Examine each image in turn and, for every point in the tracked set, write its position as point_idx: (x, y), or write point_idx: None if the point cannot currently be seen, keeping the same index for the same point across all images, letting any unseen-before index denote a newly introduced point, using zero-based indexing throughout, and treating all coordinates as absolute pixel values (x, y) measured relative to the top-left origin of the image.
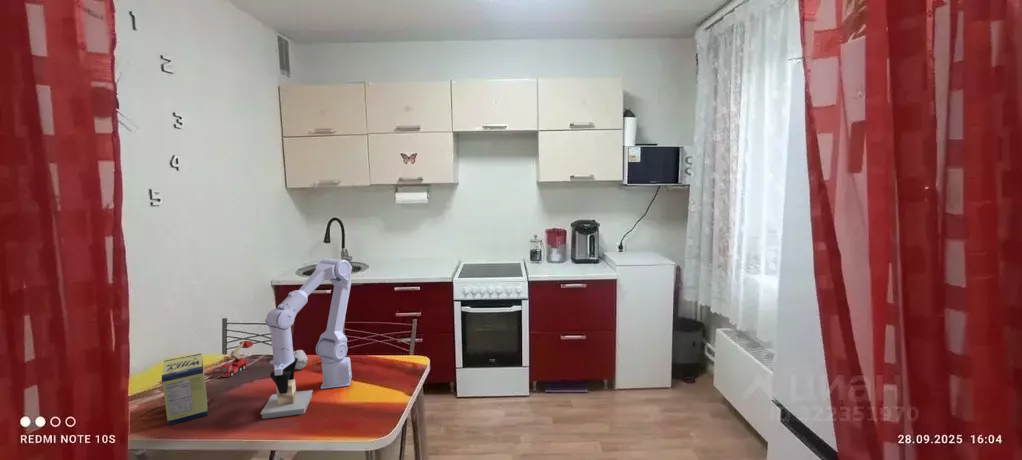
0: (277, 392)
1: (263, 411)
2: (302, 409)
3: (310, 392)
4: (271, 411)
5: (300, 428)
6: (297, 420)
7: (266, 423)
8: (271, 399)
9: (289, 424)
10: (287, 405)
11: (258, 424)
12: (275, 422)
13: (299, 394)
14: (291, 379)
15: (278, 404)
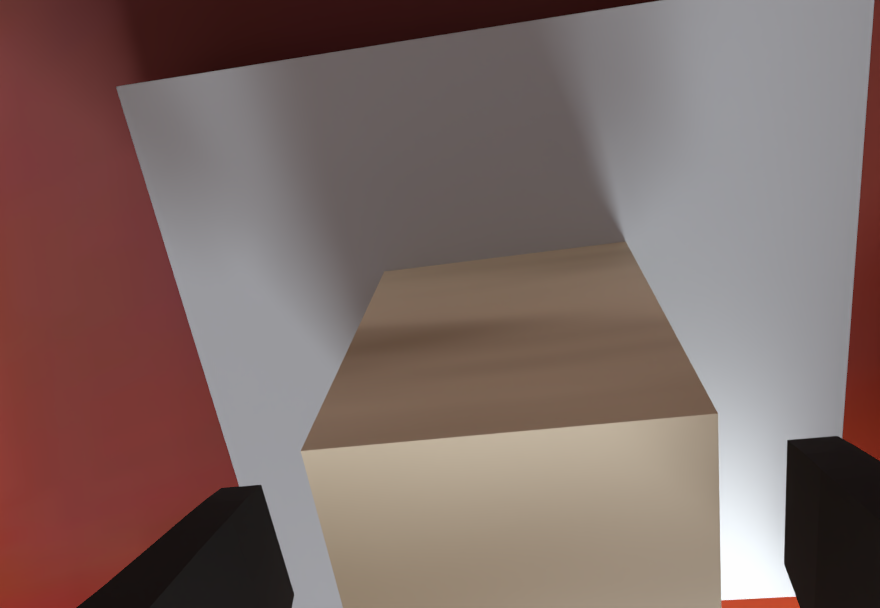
0: (337, 390)
1: (187, 110)
2: None
3: (744, 587)
4: (188, 246)
5: (19, 597)
6: (166, 531)
7: (71, 209)
8: (629, 57)
9: (79, 480)
10: None
11: (34, 107)
12: (105, 314)
13: None
14: (817, 604)
15: (381, 283)
